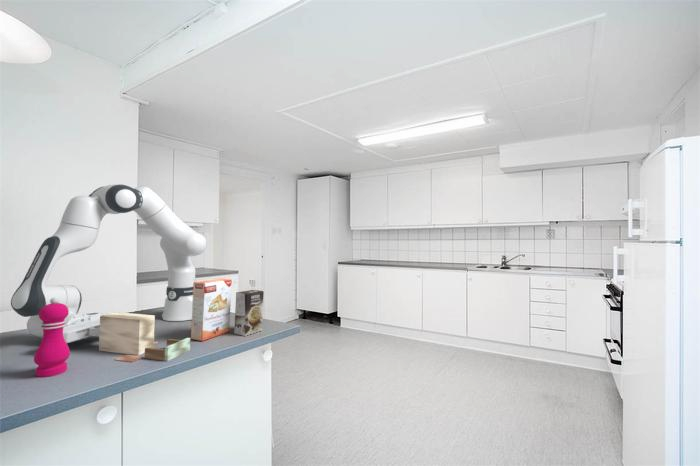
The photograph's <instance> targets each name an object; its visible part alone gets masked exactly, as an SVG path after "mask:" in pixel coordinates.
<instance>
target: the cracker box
mask: <svg viewBox="0 0 700 466" xmlns="http://www.w3.org/2000/svg"><path fill="white" fill-rule="evenodd" d="M232 282H233V280H232V279H231V278H215V279H207V280H198V281H195V282H194V284H193V304H192V320H191V329H190V340H195V341H200V342H205V341H206V340H209V339H210V340H211V339H212V338H215V337H219V336H221V335H224V334H226V333H229V332H230V325H231V324H230V323H231V320H230V319H231V301H232V285H233V284H232Z"/></svg>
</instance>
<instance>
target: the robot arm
mask: <svg viewBox="0 0 700 466" xmlns="http://www.w3.org/2000/svg"><path fill="white" fill-rule="evenodd" d="M130 212H134V213H136V214H137V215H138V217H140V219H141V220H142V221H143V222H144V223H145V224H146V225H147V226H148V227H149V228H150V229H151V231H152V232H154V233H155V234H156V235H158V236H160V237H161V238H160V242H159V244H160V248H161V250H162V251H163V253H164V255H165V260H166V265H167V286H166V290H165V291H166V292H165V294H166V297H165V300H164V306H163V313H162V314H161V318H162V320H163V321H167V322H182V321H190V320H191V321H192V304H193V284H194V282H196V268H195V266H194V264H193V263H192V259H191V257H196V256H199V255H201V254H203V253H204V252H205V251H206V249H207V239H206V238H205V236H204V235H202V234H201V233H199V232H198V231H195V230H194V229H193V228H191V226H189V225H188V224H186V223H185V222H184V221H183V220H181V219H180V218H179V216H177V214H175V213H174V211H173V210H172V209H171V207H169V206H168V204H167V203H166V202H165V201H164V200H163V199H162V198H161V197H160V196H159V195H158V194H157V193H156V192H155V191H154V190H152V189H151V188H150V187H148V186H144V185H142V186H137V187H135V188H133V187H131V186H129V185H125V184H108V185H105V186H100V187H98V188H96V189H95V190H94V191H92V192H91V193H90V194H89V195H75V196H74V197H73V198H71V199H70V200H69V202H68V203H67V205H66V207H65V210H64V212H63V214H62V216H61V220H60V223H59V226H58V228H57V230H56V231H55V233H54V234H52V235H51V236H50V237H47V238H46V239H44V241H43V242H42V243H41V245H40V246H39V248H38V250H37V252H36V254H35V255H34V258H33V260H32V262H31V264H30V266H29V268H28V270H27V272H26V274H25V275H24V278H23V280H22V282H21V283H20V285H19V286H18V287H17V288H16V290H15V291H14V293H13V294H12V296H11V300H10V306H11V308H12V309H13V310H14V312H15V313H17V314H18V316H19V315H20V316H21V317H23V318H24V317H25V318H27V317H28V320H27V321H26V328H27V331H28V332H29V334H32V335H33V336H35V337H39V338H42V339H43V329H41V326H42V325H41V323H42V322H43V321H42V320H41V319H40V318H39V312H40V310H41V309H42V308H43V307H44V306H46V305H48V304H51V302H50V300H51V299H52V298H58V299H59V302H58V303H61V304H64V305H66V306H67V307H68V310H69V313H68V316H67V317H66V318H65V319H64V320H65V321H66V322H65V324H66V325H65V326H64V327H63V337H64V340H65V342H66V343H67V344H68V343H69V344H70V343H73V342H79V341H80V340H82V339H87V338H89V337H93V336H99V332H100V316H102V315H103V314H102V313H101V312H93V313H79V311H80V308H81V305H82V302H83V301H82V298H83V297H82V293H81V291H80V290H79V289H78V287H77V286H74V285H62V284H59V285H54V284H53V285H49V284H46V283H47V282H48V279H49V277H50V274H51V272H52V270H53V268H54V267H55V264H56V263H57V262H58V260H59V259H61V258H62V257H64V256H67V255H69V254H74V253H79V252H81V251H85V250H86V249H88V248H90V247H91V246H93V245H94V244H95V242H96V240H97V239H98V235H99V231H100V227H101V223H102V222H101V221H102V220H103V218H104V217H105V216H106V215H107V214H108V215H109V214H111V215H118V214H125V213H130Z"/></svg>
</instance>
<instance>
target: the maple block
mask: <svg viewBox="0 0 700 466" xmlns="http://www.w3.org/2000/svg"><path fill="white" fill-rule="evenodd" d="M101 315H102V316H100V332H99V335H98V337H99V338H98V351H100V352H108V353H118V354H125V355H134V356H141V355H143V354H145V348H147V347H148V348H155V344H154V342H155V325H156V323H155V321H156V320H155V319H156V318H155V317H156V315H154V314H143V313H134V312H133V313H131V312H118V311H116V312H112V313H107V314H101Z"/></svg>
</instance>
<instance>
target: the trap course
mask: <svg viewBox="0 0 700 466" xmlns="http://www.w3.org/2000/svg"><path fill="white" fill-rule="evenodd" d="M157 344H159V341H154V345H157ZM189 351H191V337H186V338H183V339H176V338H175V339H173V338H168V339H166V346H165V347H164V348H156V347H154V348H148V347H147V348H145V353H144V356H143V355H142V356H141V355H132V354H125V355H122V356H119V357H117V358H114V361H118V362H126V363H134V362H136V361H138V360H141V359H142V358H144V359H145V360H146V359H147V360H154V361H162V362H164V361H165V362H169V361H171V360H172V359H174V358H177V357H178V356H181V355H183V354H186V353H187V352H189Z"/></svg>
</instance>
